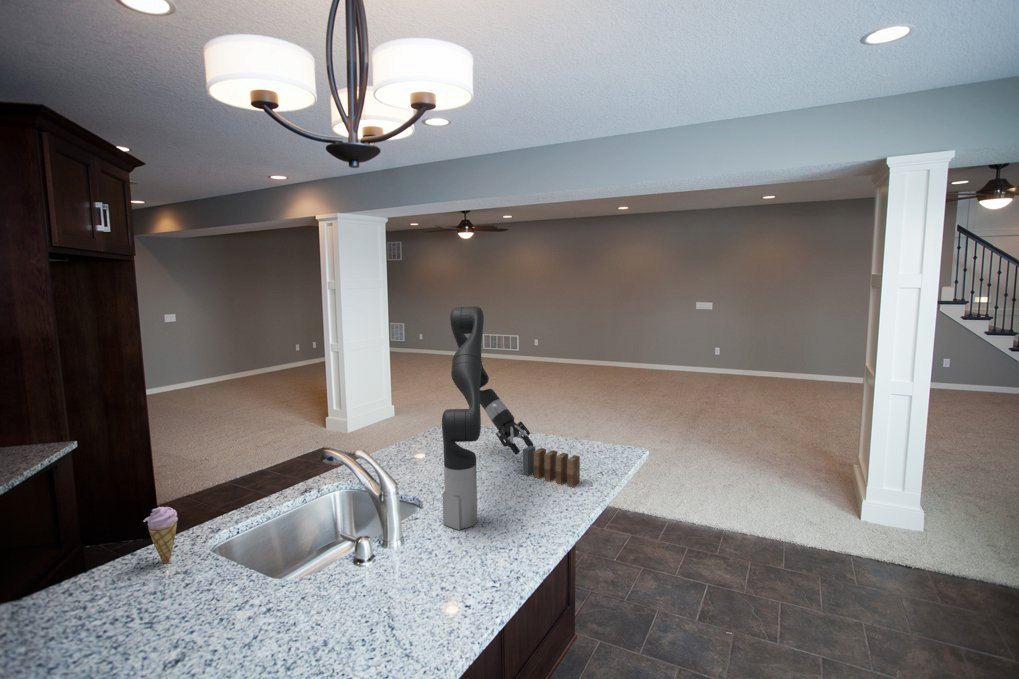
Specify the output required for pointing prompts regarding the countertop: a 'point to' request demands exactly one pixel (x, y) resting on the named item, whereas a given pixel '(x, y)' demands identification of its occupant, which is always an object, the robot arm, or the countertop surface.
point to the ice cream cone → (163, 530)
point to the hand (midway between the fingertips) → (525, 450)
